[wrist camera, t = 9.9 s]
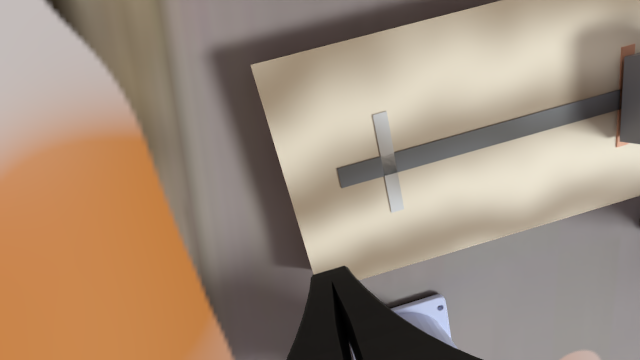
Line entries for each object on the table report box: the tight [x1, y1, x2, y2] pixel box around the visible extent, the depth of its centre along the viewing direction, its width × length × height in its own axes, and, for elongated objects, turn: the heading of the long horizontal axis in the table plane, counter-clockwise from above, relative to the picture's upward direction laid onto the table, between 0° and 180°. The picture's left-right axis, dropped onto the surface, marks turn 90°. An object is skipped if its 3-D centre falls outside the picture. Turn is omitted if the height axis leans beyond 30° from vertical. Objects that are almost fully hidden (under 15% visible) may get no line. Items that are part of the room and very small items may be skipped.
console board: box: [251, 0, 640, 280], centre depth 19 cm, size 14×26×3 cm, turn 104°
